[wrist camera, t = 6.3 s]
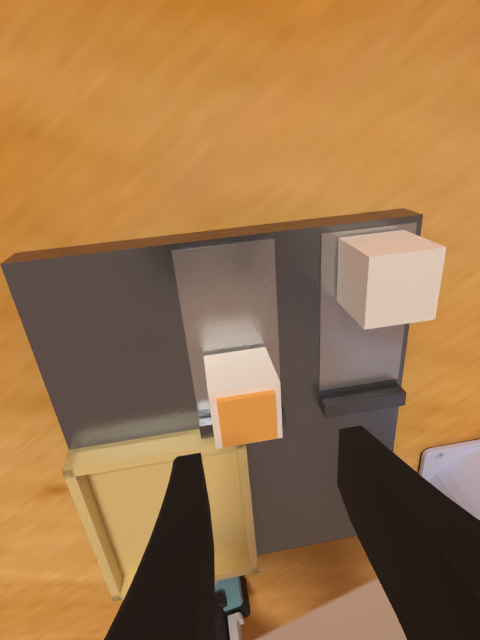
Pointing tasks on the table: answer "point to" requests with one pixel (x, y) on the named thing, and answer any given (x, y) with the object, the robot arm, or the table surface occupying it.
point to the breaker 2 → (389, 278)
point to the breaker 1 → (243, 397)
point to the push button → (230, 607)
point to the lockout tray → (158, 501)
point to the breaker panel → (219, 350)
